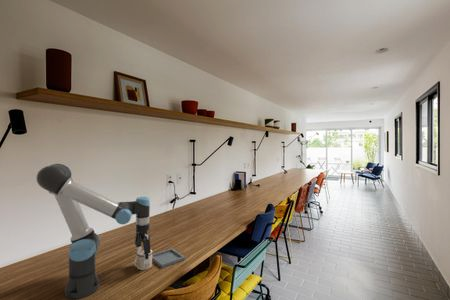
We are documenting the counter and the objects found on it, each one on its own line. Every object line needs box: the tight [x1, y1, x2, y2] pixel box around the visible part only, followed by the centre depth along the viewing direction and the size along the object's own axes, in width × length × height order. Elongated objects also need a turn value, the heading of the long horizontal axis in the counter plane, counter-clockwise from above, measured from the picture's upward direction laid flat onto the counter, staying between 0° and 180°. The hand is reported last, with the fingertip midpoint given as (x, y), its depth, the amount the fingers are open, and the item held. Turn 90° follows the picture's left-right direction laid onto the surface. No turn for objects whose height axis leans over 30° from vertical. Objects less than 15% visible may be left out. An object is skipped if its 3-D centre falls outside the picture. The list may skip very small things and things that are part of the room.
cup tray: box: [152, 248, 186, 269], centre depth 159 cm, size 16×16×2 cm
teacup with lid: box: [133, 247, 154, 271], centre depth 147 cm, size 12×9×12 cm
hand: (142, 260), depth 148 cm, fingers closed on teacup with lid, 9 cm apart
